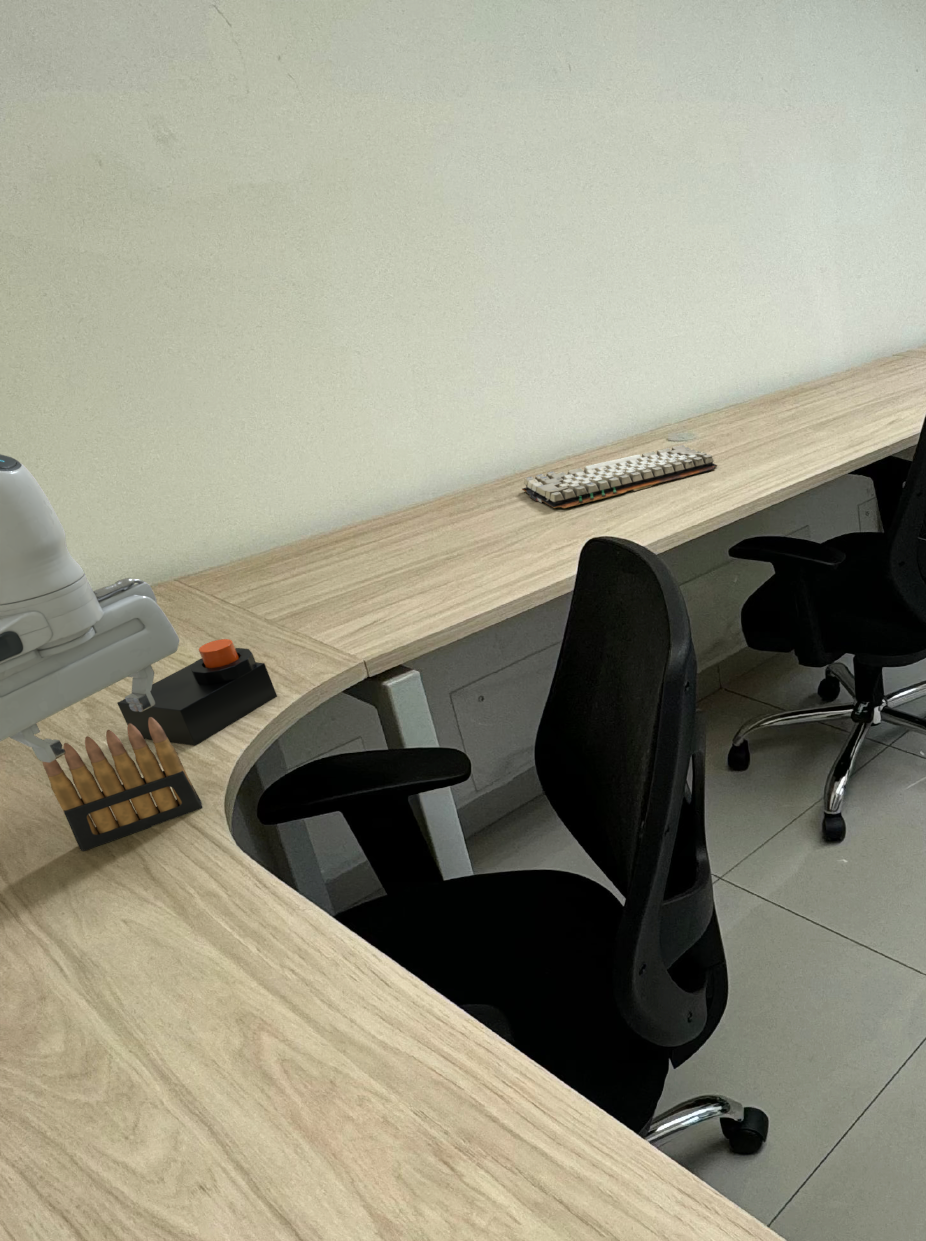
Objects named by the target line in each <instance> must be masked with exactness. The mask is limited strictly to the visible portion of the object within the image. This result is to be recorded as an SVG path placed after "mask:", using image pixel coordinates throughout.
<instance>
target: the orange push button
mask: <svg viewBox="0 0 926 1241" xmlns="http://www.w3.org/2000/svg"><path fill="white" fill-rule="evenodd" d="M235 648H236V647H235V645H234V642H233V641H232V640H231V639H230V638H229V639H228V638H221V639H216V640H212V641H209V642H207V643H205V644H203V645H201V646H200V647H199V648H198V652H199V654H200V657H201V658H202V659H203V662H204V664H205V667H206V668H215V667H221V666H224V665H228V664H230V663H232V662H234V661H236V660H238V659H239V657H238V654H237V652H236V650H235Z"/></svg>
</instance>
